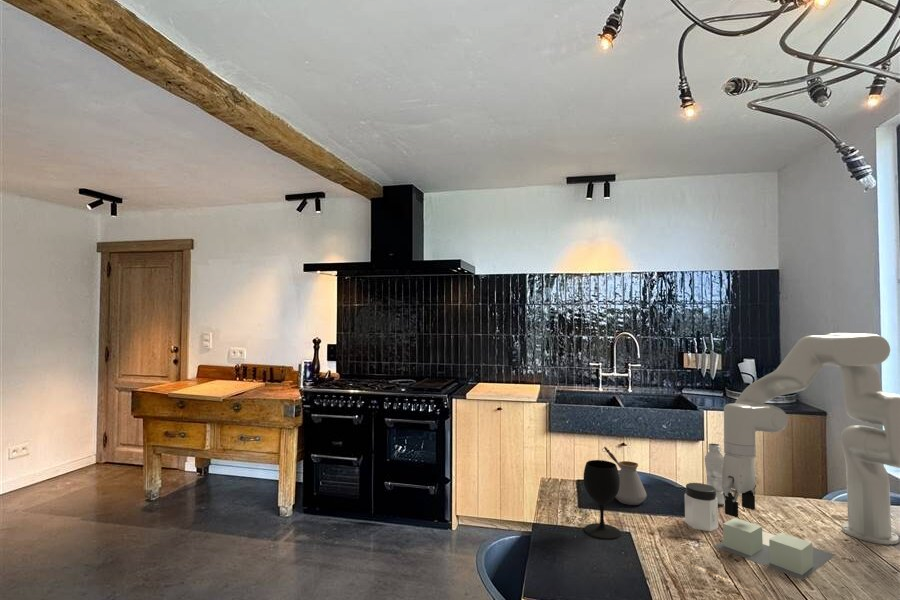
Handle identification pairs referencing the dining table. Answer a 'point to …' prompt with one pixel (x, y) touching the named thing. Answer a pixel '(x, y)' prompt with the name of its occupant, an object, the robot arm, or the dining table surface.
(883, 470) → the robot arm
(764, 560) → the slate mat
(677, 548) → the dining table surface
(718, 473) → the plastic bottle
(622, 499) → the coffee pot
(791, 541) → the cover
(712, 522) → the jar
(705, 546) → the dining table surface
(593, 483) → the wine glass
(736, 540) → the cover
